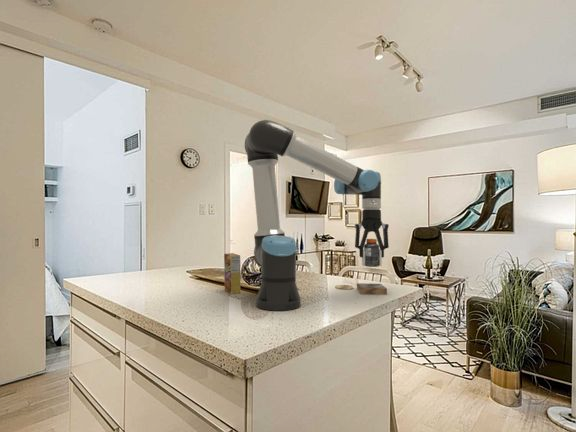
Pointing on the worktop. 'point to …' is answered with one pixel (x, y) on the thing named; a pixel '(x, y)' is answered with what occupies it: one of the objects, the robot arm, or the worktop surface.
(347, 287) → the cork coaster
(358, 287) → the walnut stand
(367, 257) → the pill bottle
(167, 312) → the worktop surface
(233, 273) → the candy box
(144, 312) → the worktop surface
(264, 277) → the robot arm
